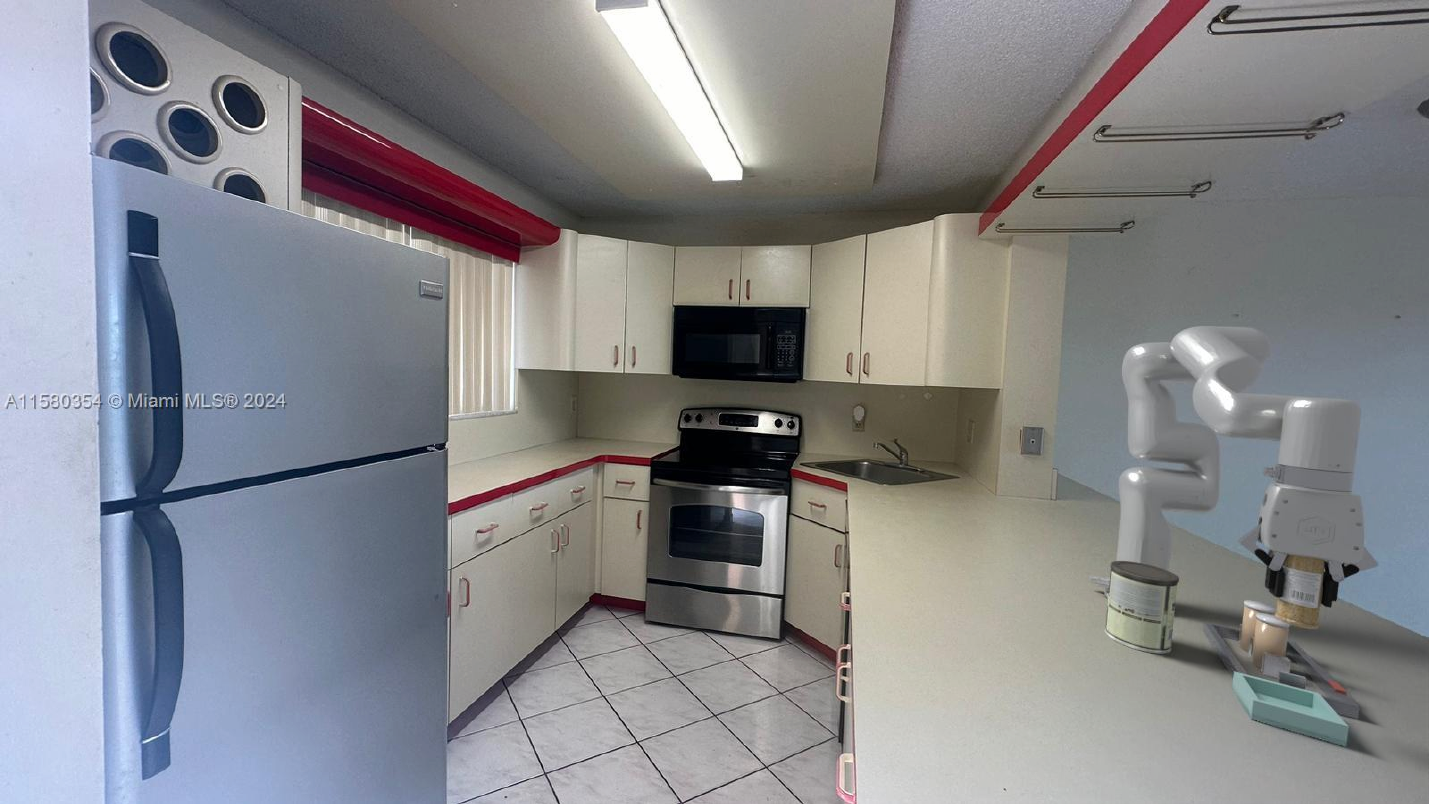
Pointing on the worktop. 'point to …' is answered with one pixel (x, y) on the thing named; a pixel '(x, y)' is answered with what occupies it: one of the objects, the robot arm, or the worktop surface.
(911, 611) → the worktop surface
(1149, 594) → the coffee can
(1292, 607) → the sprinkles bottle
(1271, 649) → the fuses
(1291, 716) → the tray
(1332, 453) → the robot arm
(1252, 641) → the frame
